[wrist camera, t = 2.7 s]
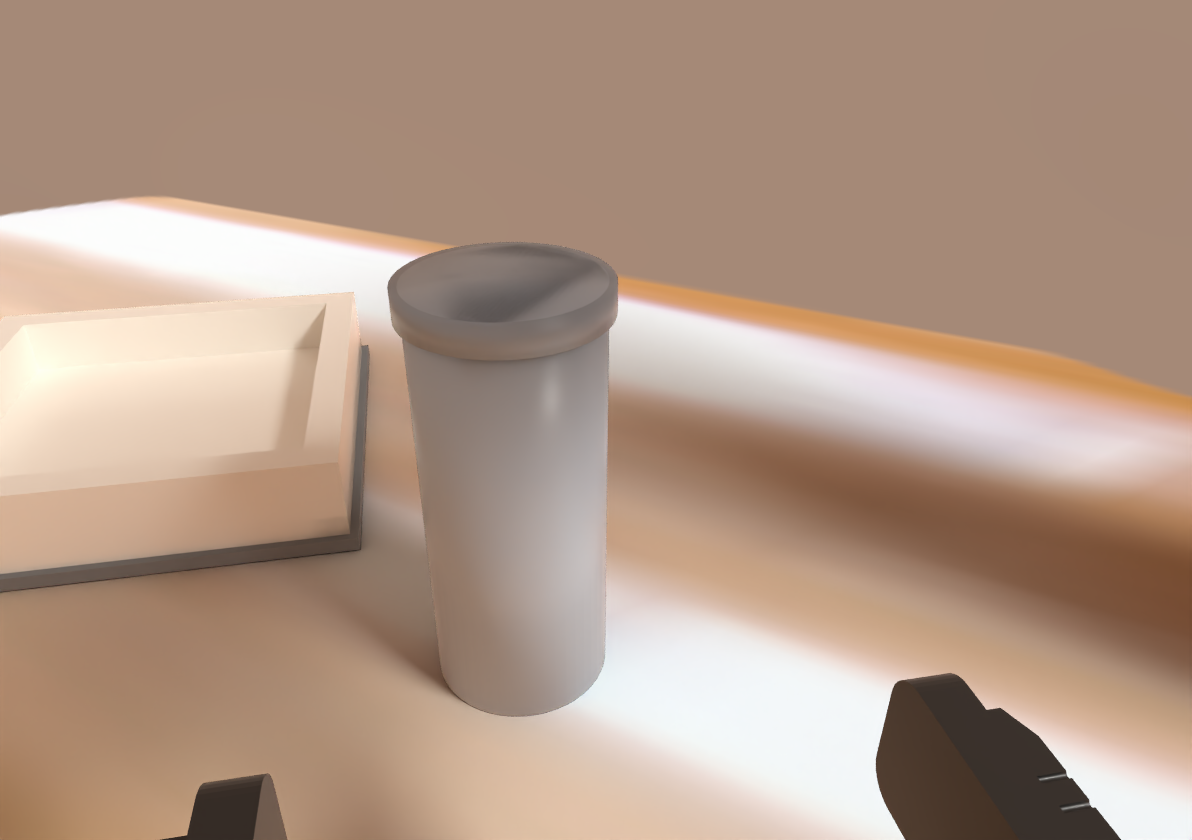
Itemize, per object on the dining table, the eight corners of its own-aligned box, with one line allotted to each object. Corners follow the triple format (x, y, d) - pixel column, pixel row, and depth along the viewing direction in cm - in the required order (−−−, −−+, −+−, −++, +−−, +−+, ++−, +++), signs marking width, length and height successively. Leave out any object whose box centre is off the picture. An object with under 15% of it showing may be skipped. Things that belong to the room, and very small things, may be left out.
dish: (361, 348, 44) (353, 292, 43) (350, 533, 31) (337, 462, 30) (25, 375, 42) (3, 316, 40) (-142, 590, 28) (-183, 514, 27)
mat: (369, 354, 45) (368, 345, 44) (360, 549, 31) (358, 538, 31) (23, 382, 42) (20, 372, 42) (-151, 609, 28) (-158, 597, 28)
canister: (593, 582, 30) (593, 236, 24) (629, 706, 25) (642, 315, 19) (429, 603, 29) (387, 248, 23) (437, 736, 24) (387, 335, 18)
